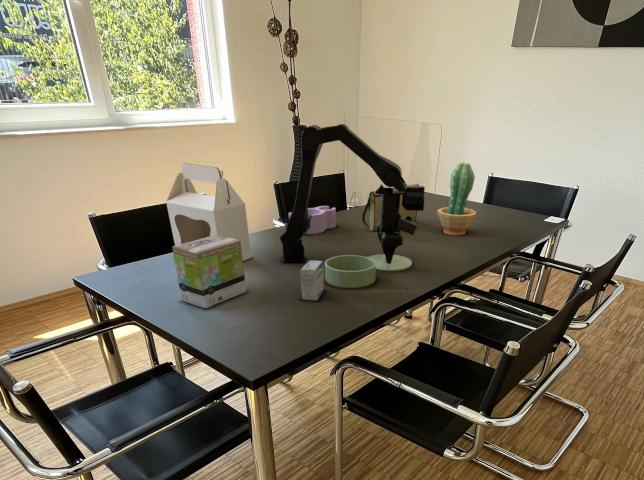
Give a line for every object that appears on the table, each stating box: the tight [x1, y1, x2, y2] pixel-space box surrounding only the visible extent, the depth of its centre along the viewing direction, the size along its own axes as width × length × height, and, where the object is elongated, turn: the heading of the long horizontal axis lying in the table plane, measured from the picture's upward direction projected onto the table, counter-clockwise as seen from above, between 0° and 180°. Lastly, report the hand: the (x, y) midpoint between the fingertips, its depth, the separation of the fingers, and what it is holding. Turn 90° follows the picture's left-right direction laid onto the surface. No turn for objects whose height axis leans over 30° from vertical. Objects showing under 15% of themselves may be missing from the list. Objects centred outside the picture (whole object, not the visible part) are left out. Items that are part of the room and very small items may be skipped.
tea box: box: [171, 235, 247, 309], centre depth 125 cm, size 15×10×15 cm, turn 148°
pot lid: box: [367, 253, 413, 272], centre depth 153 cm, size 16×16×5 cm
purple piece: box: [288, 205, 337, 235], centre depth 189 cm, size 20×12×7 cm, turn 136°
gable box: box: [165, 162, 252, 262], centre depth 150 cm, size 22×13×28 cm, turn 57°
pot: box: [324, 254, 377, 289], centre depth 140 cm, size 15×15×5 cm
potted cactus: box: [436, 162, 477, 236], centre depth 182 cm, size 15×15×25 cm
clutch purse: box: [361, 183, 420, 232], centre depth 192 cm, size 30×7×15 cm, turn 133°
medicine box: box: [299, 260, 325, 302], centre depth 129 cm, size 8×4×9 cm, turn 169°
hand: (387, 259), depth 153 cm, fingers open, 7 cm apart
